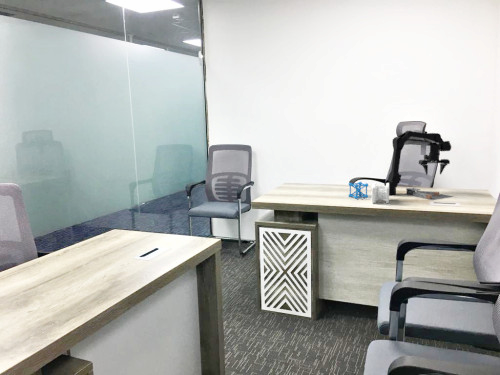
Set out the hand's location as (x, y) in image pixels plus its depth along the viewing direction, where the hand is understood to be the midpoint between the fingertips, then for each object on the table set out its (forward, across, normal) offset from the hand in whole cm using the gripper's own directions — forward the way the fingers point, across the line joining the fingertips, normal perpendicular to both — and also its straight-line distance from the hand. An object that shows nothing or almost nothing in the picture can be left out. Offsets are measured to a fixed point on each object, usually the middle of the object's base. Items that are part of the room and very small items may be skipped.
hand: (433, 174), depth 279 cm
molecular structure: (+13, +53, +8) cm, 55 cm away
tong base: (+13, +12, +11) cm, 21 cm away
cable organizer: (+13, +42, +24) cm, 50 cm away
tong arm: (+12, +7, +9) cm, 17 cm away
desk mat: (+13, +7, +9) cm, 17 cm away
